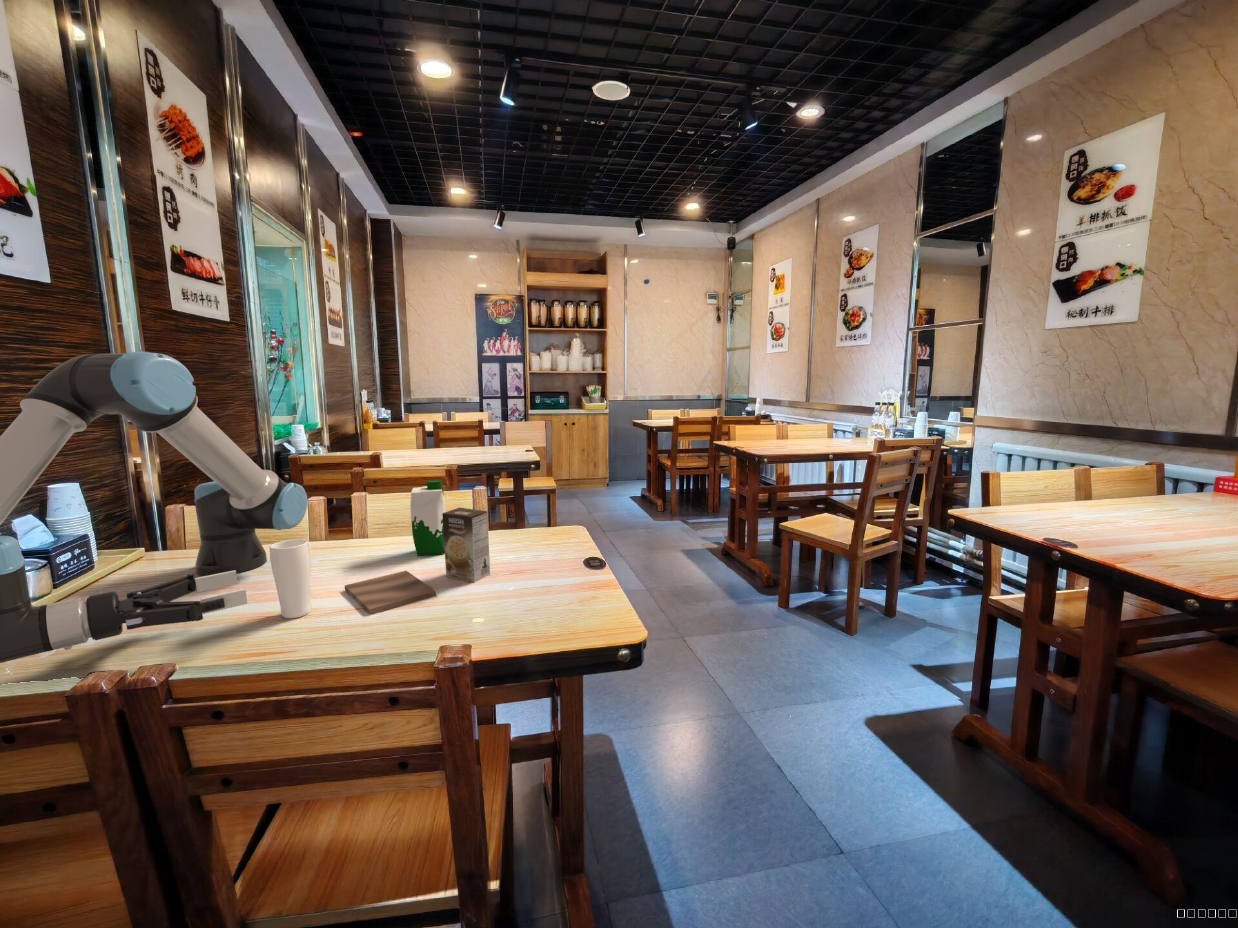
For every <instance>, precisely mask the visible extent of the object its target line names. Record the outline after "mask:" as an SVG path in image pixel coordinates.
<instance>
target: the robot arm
mask: <svg viewBox="0 0 1238 928" xmlns="http://www.w3.org/2000/svg"><path fill="white" fill-rule="evenodd" d="M193 382H195V380H194V377H193V375H192V374H191V372H190V371H189V369H188V368H187V367H186V366H185V365H184V364H182V362H180V361H178V360H177V359H176V358H174V357H171V356H169V355H167V354H163V353H157V352H149V351H131V352H119V353H117V352H115V353H114V352H113V353H87V354H86V353H85V354H82V355H78V356H74V357H72V358H70V359H68V360H66V361H64V362H62V363H61V364H59V365H58V366H56V367H55V368H54V369H52V370H51V371H50V372H48V373H47V374H46V375H45V376H44V377H43V378H42V379H40V380H39V382H37V383H36V384H35V385H34V387H33V388H31V390H30V391H29V392H28V393H27V394H26V395H25V396H24V397H23V398H22V400H21V401H20V403H19V407H20V408H21V412H20V413H19V414H18V416H17V417H16V418H15V419H14V420H13V422H12V423H10V425H9V426H8V427H7V428H6V429H5V431H4V432H3V433H2V434H0V435H1V436H0V526H1V525H2V524H3V523H4V521H5V520H6V519H7V518H8V517H9V515H10V514H11V513H12V511H14V509H15V508H16V506H17V505H19V503H20V501H21V500H22V499H23V497H25V495H26V494H27V492H29V490H30V489H31V487H32V486H33V485H34V484H35V483H36V481H37V480H38V479H39V477H40V476H41V475H42V473H43V472H44V471H45V469H46V468H47V467H48V466H49V464H50V463H51V462H52V461H53V460H54V459H55V457H56V456H57V454H59V452H60V451H61V449H62V448H63V447H64V445H66V444H67V442H68V441H69V440H70V438H71V437H73V434H75V433H78V432H79V433H80V432H83V431H85V430H86V429H87V427H88V426H89V425H90V424H91V423H92V422H93V421H94V420H96V419H97V418H100V417H102V416H103V415H121V416H124V418H125V419H127V420H128V421H129V422H130V423H132V425H134V426H135V427H136V428H138V429H139V430H141V432H145V433H157V434H158V435H160V437H162V438H163V439H164V440H165V442H167V443H168V444H170V445H171V447H174V448H175V450H177V451H178V452H179V453H180V454H182V455H183V456H184V457H185V458H186V459H188V460H189V462H191V463H192V464H193V465H195V466H196V468H198V469H199V470H200V471H201V472H203V474H205V475H206V476H208V477H209V478H210V479H211V480H212V481H209V482H205V483H200V484H198V485H197V486H196V487H195V488H194V501H193V502H194V506H195V513H196V519H197V525H198V531H199V537H200V545H199V549H198V553H197V557H196V560H195V572H196V575H199V577H195V574H193V573H192V574H187V576H183V577H180V578H177V579H174V580H169V581H167V582H164V583H160V584H157V585H154V586H150V587H148V588H144V589H139V590H136V591H130V592H128V593H126V599H123V600H119V599H120V598H119V595H118V593H117V592H116V591H108V592H103V593H98V594H93V595H89V597H86V599H85V600H84V599H83V598H81V597H78V598H72V599H67V600H63V601H57V602H51V603H47V604H42V605H38V606H37V605H36V606H33V605H32V602H31V597H30V592H29V586H28V584H29V583H28V577H27V573H26V567H25V562H26V560H25V557H24V555H23V554H22V551H21V547H20V544H19V541H18V539H17V538H16V537H13V536H9V535H0V664H2V663H3V664H4V663H7V662H9V661H10V662H11V661H14V660H18V659H23V658H26V657H30V656H35V655H39V654H43V653H47V652H51V651H56V650H60V649H63V650H64V651H65V650H66V651H67V650H71V649H72V648H73V646H77V645H80V644H85V643H87V642H88V641H89V639H90V638H91V640H93V641H94V640H95V641H100V640H104V639H107V638H108V639H109V638H112V637H117V636H119V635H121V634H122V632H123V631H124V630H123V629H124V627H123V624H126V630H129V631H131V630H135V629H141V628H144V627H152V626H153V627H154V626H161V625H162V626H163V625H171V624H180V623H181V624H182V623H189V622H200V621H202V620H203V619H204V616H203V615H207V614H209V613H214V612H218V611H223V610H227V609H231V608H235V607H239V606H243V605H244V606H245V605H247V604H248V598H247V592H246V591H247V589H246V588H241V589H238V590H237V589H236V590H233V591H228V592H224V593H218V594H215V595H209V596H206V597H201V598H200V600H192V601H191V600H189V601H188V600H185V601H180V600H179V601H175V600H176V599H179V598H181V597H184V596H186V595H189V594H190V593H193V592H195V591H196V593H200V592H201V593H202V592H206V591H211V590H215V589H216V590H217V589H220V588H224V587H229V586H234V585H238V577H237V574H239V573H243V572H246V571H250V570H253V569H256V568H259V567H261V566H263V565H265V564H266V563H267V562H268V557H267V552H266V550H265V548H264V546H263V545H262V543H261V541H260V539H259V537H258V534H257V533H256V532H257V531H256V530H276V531H282V530H291V529H293V528H295V527H297V526H298V525H300V523H301V522H302V521H303V520H304V517H305V515H306V512H307V508H308V495H307V492H306V490H305V488H304V487H303V486H302V485H300V484H298V483H294V482H289V483H288V482H285V481H284V480H282V478H281V477H279V475H278V474H277V473H275V472H274V471H272V470H269V469H262V468H261V467H260V466H259V465H258V464H257V463H255V462H254V461H253V460H252V458H250V457H249V456H248V455H247V454H246V453H245V452H244V451H243V450H242V449H241V448H240V447H239V446H238V445H237V443H235V442H234V441H233V439H231V438H230V437H229V436H228V435H227V434H226V433H225V432H224V431H223V430H221V428H220V427H219V426H217V424H216V423H214V422H213V421H212V419H210V418H209V417H208V415H206V414H205V413H204V412H203V411H202V410H201V409H200V408H199V407H198V399H199V397H198V396H197V394H196V393H197V390H196V389H197V388H196V385H194V384H193Z"/></svg>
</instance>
